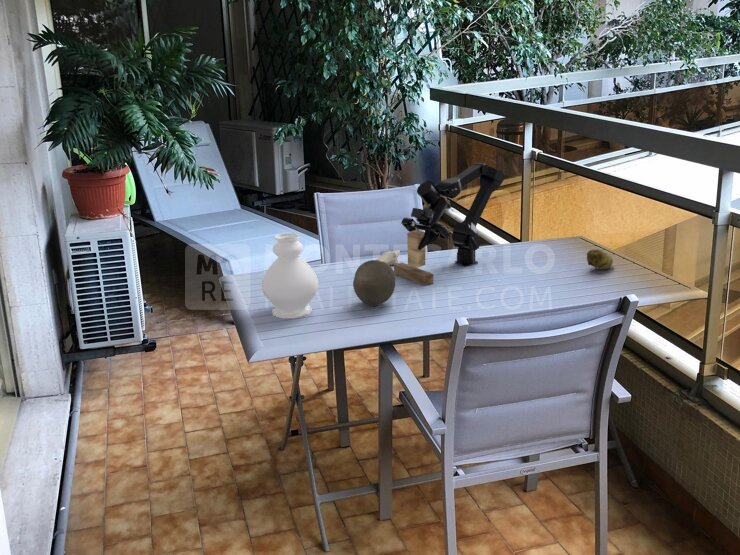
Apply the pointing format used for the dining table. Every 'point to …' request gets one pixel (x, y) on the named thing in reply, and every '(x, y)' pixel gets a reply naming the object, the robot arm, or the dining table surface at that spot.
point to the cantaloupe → (374, 282)
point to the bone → (390, 257)
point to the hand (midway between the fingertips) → (413, 248)
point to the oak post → (415, 249)
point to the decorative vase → (289, 279)
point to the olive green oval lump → (599, 259)
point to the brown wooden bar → (413, 274)
